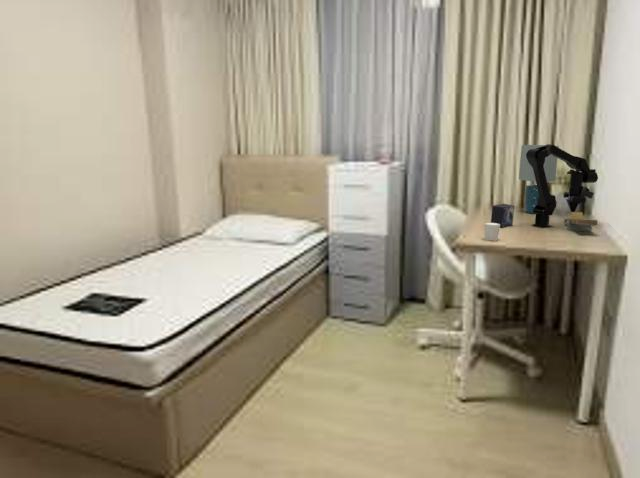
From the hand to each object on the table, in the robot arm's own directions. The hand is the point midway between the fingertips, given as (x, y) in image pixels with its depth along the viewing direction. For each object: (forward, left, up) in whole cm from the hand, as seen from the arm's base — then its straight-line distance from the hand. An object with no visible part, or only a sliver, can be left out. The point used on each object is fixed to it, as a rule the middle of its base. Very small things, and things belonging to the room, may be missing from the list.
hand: (572, 214), depth 272 cm
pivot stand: (-9, -11, -6) cm, 15 cm away
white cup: (-62, -6, -6) cm, 62 cm away
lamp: (+13, +34, -6) cm, 37 cm away
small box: (-34, +14, -6) cm, 37 cm away
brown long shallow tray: (-9, -11, -2) cm, 14 cm away
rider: (-3, -4, -3) cm, 6 cm away
